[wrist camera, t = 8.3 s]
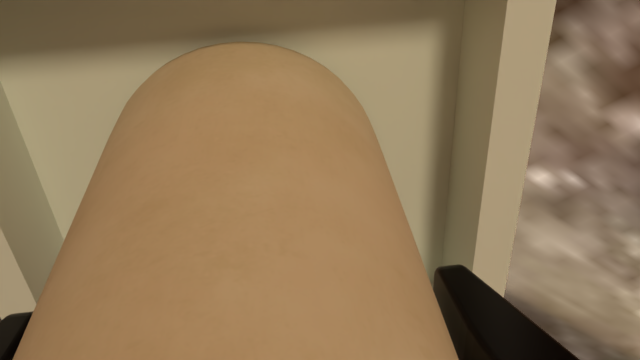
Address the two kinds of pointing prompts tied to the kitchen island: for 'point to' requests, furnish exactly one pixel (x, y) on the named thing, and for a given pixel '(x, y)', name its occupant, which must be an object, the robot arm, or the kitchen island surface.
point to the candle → (239, 227)
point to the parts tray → (312, 41)
